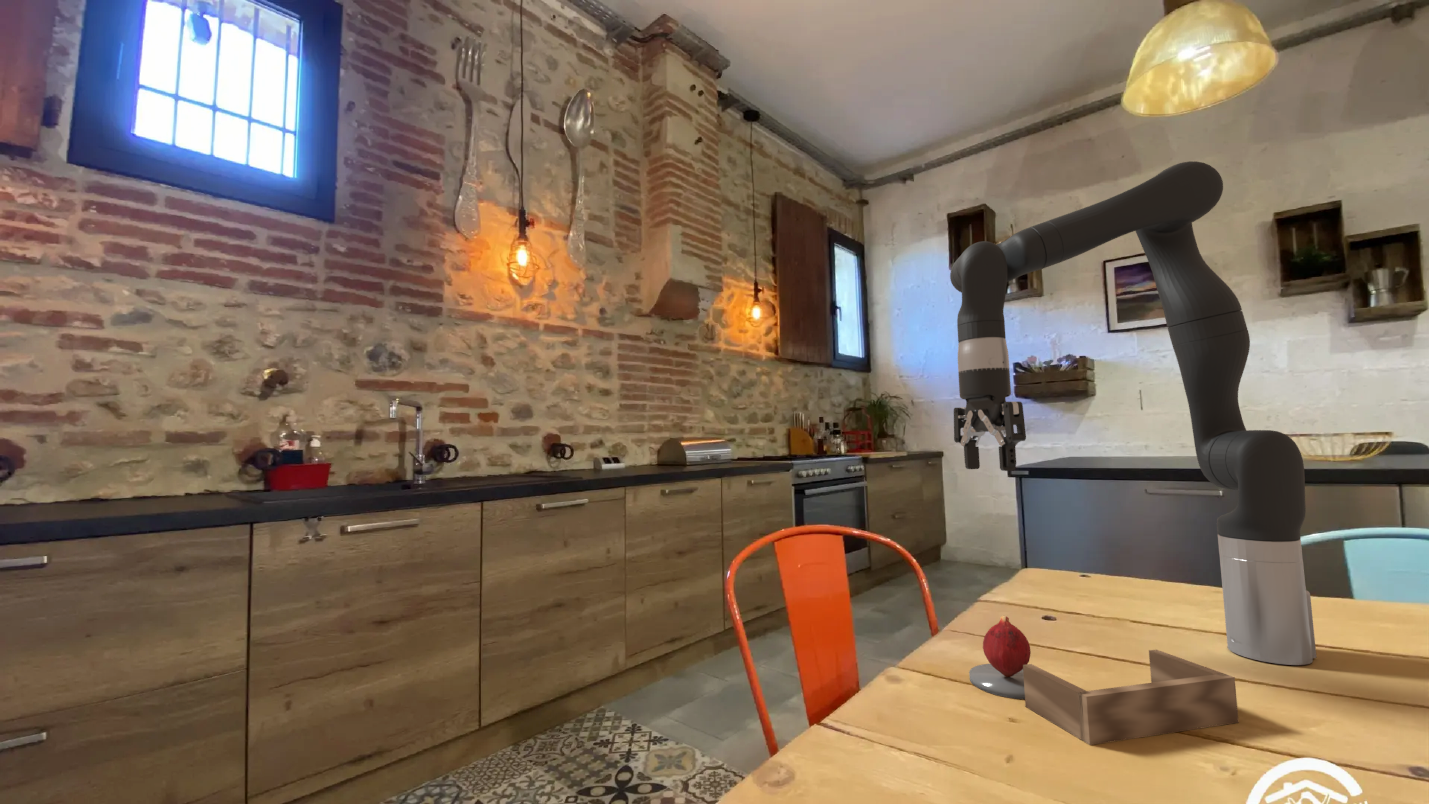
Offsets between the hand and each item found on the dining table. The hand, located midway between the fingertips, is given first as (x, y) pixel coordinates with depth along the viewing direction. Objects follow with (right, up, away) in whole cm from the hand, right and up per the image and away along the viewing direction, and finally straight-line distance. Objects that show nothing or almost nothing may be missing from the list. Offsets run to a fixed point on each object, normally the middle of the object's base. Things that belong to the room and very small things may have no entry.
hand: (989, 469), depth 94 cm
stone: (-4, -27, -14) cm, 31 cm away
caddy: (+5, -26, -24) cm, 36 cm away
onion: (-4, -27, -14) cm, 30 cm away
